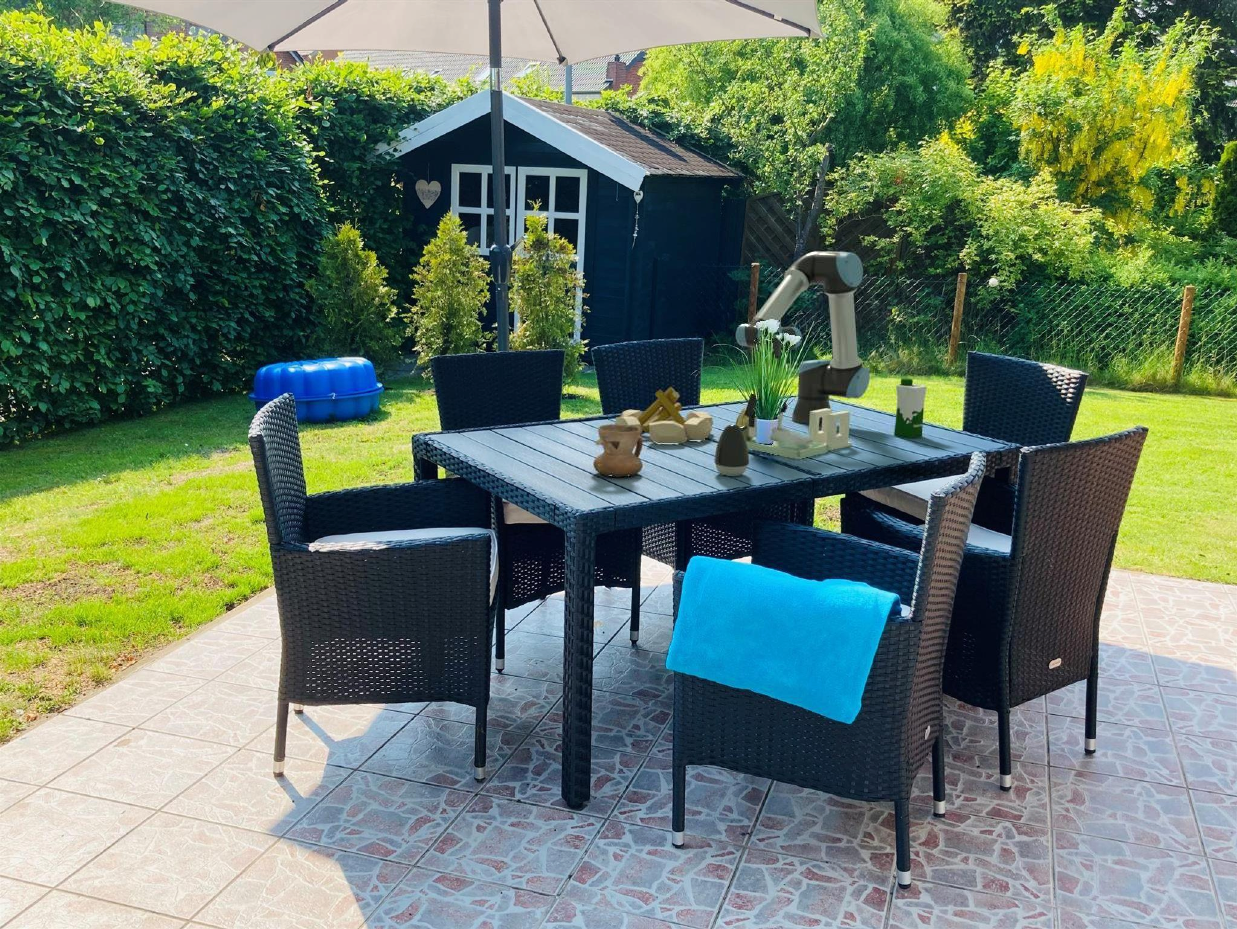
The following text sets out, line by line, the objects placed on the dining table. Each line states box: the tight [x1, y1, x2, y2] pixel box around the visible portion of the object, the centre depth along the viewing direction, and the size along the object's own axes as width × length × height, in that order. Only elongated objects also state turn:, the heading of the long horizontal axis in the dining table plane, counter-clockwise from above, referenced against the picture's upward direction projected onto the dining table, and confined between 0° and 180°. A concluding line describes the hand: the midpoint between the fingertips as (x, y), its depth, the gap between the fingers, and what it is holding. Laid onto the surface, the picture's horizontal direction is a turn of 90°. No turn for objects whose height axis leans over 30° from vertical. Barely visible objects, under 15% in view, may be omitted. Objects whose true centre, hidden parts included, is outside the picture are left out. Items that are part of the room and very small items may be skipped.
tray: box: [746, 438, 829, 460], centre depth 357 cm, size 16×31×2 cm, turn 45°
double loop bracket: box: [808, 408, 853, 451], centre depth 363 cm, size 11×12×12 cm
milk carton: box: [893, 377, 928, 439], centre depth 379 cm, size 9×9×20 cm
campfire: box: [614, 386, 714, 444], centre depth 375 cm, size 35×34×17 cm
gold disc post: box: [735, 405, 814, 451], centre depth 357 cm, size 28×12×12 cm, turn 46°
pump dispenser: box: [713, 423, 750, 477], centre depth 319 cm, size 10×10×15 cm
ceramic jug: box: [593, 423, 644, 477], centre depth 318 cm, size 18×14×14 cm
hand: (765, 434), depth 359 cm, fingers open, 13 cm apart
